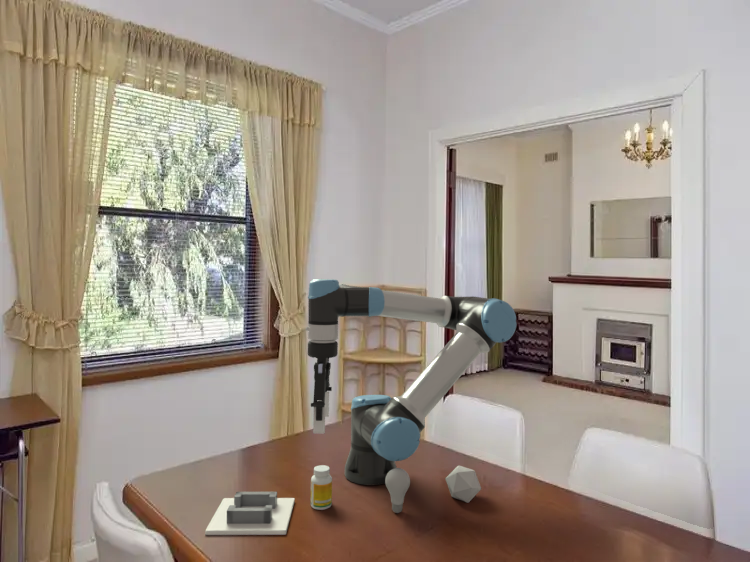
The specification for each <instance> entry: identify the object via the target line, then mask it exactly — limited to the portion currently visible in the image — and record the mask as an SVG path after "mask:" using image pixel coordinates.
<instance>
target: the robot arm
mask: <svg viewBox="0 0 750 562" xmlns="http://www.w3.org/2000/svg"><path fill="white" fill-rule="evenodd" d="M308 286H309V287H308V296H307V299H308V305H307V306H308V313H307V314H308V316H307V317H308V323H307V324H308V325H307V326H306V327H305V331H307V338H308V340H309V341H307V356H308V357H310V358H313V359H314V358H316V362H315V363H314V364H313V372H314V375H313V381H314V385H313V386H314V387H313V401H312V402H311V403H310V407H311V408H313V422H312V426H313V428H312V429H313V432H312V434H321V435H322V434H325V433H326V418H329V416H330V413H329V411H330V392H332V386H331V385H330V374H331V365H332V364H331V362H330V359H331V358H332V359H333V358H336V357H337V356H338V354H339V353H338V348H339V346H338V345H339V343H338V341H337V340H338V339H339V317H369V318H371V317H375V316H376V317H377V316H378V317H385V318H393V319H400V320H409V321H414V322H415V321H416V322H417V321H418V322H425V323H432V324H436V325H437V326H438V327H440V328H444V329H445V328H446V329H450V330H452V331H453V330H454V331H456V332H455V334H454V335H453V337H452V338H451V339H450V340H449V341H448V342H447V343H446V344H445V346H444V347H442V349H441V350H440V351H439V352H438V354H437V355H436V356H435V357H434V358H433V359H432V360H431V361H430V363H429V364H428V365H427V366H426V367H425V368H424V369H423V371H422V372H421V373H420V374H419V375H418V376H417V378H416V379H414V380H413V382H412V383H411V384H410V385H409V386H408V388H407V389H406V390H405V391H404V392H403V393H402V394H401V395H400V396H399V395H398V396H392V397H391V396H390V395H386V394H363V395H358V396H355V397H354V398H352V401H351V408H350V410H351V411H350V413H351V414H350V417H351V418H350V450H349V453H348V456H347V458H346V462H345V463H344V464H345V465H344V476H345V479H347V480H348V481H349V482H352V483H354V484H359V485H364V486H379V485H384V484H385V485H386V483H385V479H386V475H387V474H388V472H389V471H390V470H392V469H394V468H397V464H396V462H401V461H404V460H406V459H408V458H410V457H411V456H413V455H414V454H415V452H416V451H417V450H418V448H419V445H420V444H421V443H420V442H421V441H420V439H421V432H422V431H423V430H424V429H425V427H426V418H427V416H428V415H429V414H430V413H431V412H432V411H433V409H435V407H436V406H437V405H438V404H439V402H440V401H441V400H442V399H443V398H444V396H445V395H446V394H447V393H448V392H449V390H450V389H451V388H452V387H453V386H454V385H455V383H456V382H457V381H458V380H459V378H460V377H461V376H463V374H464V373H465V371H466V370H467V369H469V367H470V366H471V365H472V363H474V361H475V360H476V359H477V358H478V357H479V355H480V354H482V353H484V354H486V353H489V352H490V351H491V349H493V347H494V346H495V345H496V344H497V343H498V344H499V343H505V342H507V341H509V340H510V339H511V338H512V337H513V335H514V334H515V332H516V329H517V316H516V312H515V310H514V308H513V307H512V306H511V304H509V303H508V302H507V301H505V300H502V299H499V298H496V297H493V298H489V297H479V296H452V295H451V296H450V295H442V296H440V297H433V296H426V295H425V296H424V295H418V294H413V293H403V292H398V291H390V290H384V289H381V288H379V287H375V286H373V287H372V286H368V287H367V286H366V287H365V286H364V287H363V286H355V285H348V284H344V283H343V284H340V282H339V280H337V279H333V278H331V279H329V278H327V279H324V278H321V279H320V278H315V279H312V280H310V281H309V284H308Z"/></svg>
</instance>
